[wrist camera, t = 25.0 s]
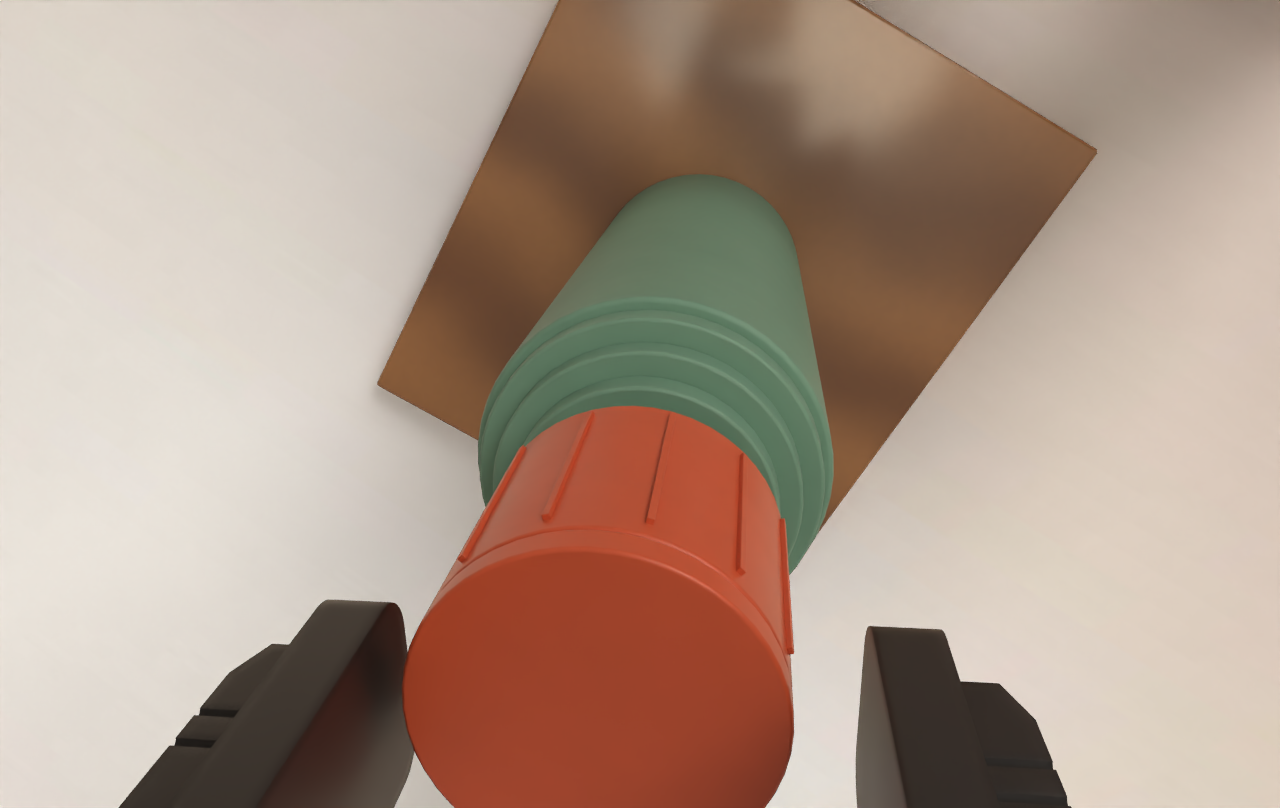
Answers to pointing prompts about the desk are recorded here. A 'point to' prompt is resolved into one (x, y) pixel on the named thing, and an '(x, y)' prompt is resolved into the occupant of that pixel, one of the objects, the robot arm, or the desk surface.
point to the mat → (766, 163)
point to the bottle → (682, 342)
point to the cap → (612, 628)
